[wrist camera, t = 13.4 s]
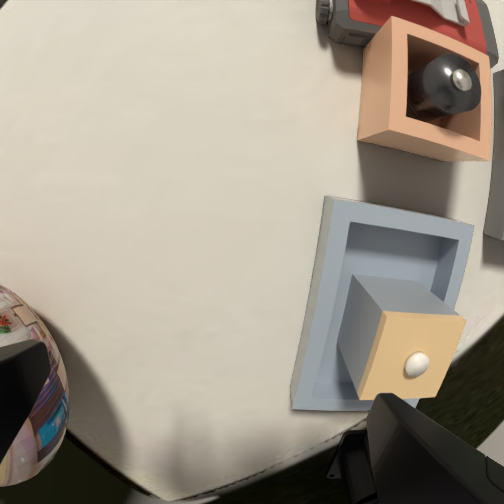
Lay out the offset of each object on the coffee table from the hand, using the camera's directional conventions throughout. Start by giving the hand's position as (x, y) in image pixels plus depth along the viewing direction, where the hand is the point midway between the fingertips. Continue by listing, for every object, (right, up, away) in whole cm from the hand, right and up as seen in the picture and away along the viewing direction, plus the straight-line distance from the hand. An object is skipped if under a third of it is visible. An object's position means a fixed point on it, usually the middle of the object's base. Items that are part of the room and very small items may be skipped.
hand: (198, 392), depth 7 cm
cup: (+11, +12, +9) cm, 19 cm away
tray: (+9, 0, +12) cm, 15 cm away
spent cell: (+11, +12, +8) cm, 18 cm away
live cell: (+9, 0, +11) cm, 15 cm away
